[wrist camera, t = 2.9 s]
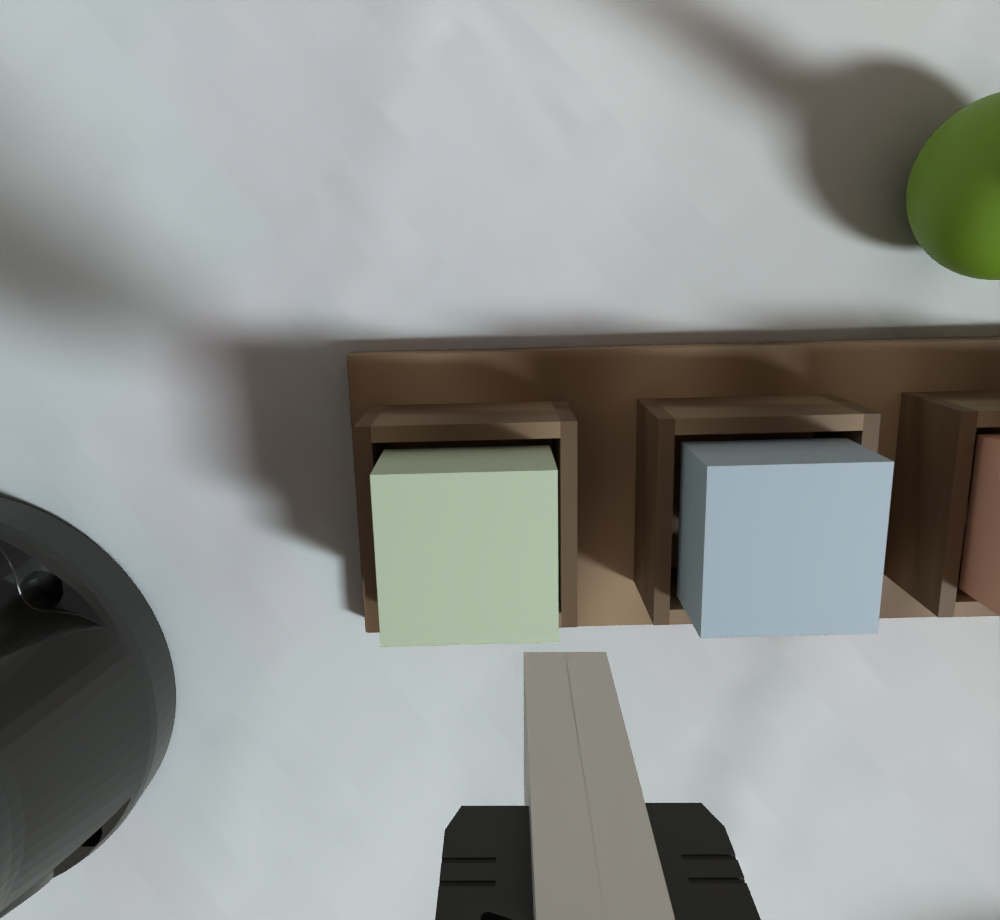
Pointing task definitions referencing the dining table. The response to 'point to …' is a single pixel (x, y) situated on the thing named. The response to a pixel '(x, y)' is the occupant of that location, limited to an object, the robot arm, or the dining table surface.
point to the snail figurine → (960, 192)
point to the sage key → (466, 545)
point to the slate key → (782, 536)
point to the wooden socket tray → (691, 418)
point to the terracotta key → (983, 527)
